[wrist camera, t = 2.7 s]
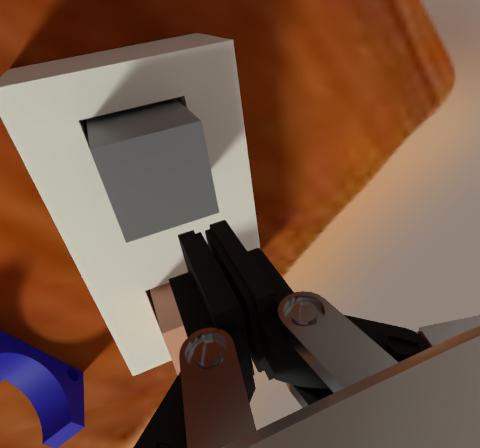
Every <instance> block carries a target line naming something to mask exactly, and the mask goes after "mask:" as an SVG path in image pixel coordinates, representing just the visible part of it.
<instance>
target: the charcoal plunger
mask: <svg viewBox="0 0 480 448" xmlns="http://www.w3.org/2000/svg"><path fill="white" fill-rule="evenodd" d="M86 122H87V131H88V140H89V149H90V152H91V154H92V157H93V159H94V162H95V164H96V167H97V170H98V172H99V175H100V177H101V180H102V182H103V185H104V187H105V190H106V193H107V195H108V198H109V200H110V203H111V205H112V208H113V211H114V213H115V216H116V218H117V221H118V223H119V226H120V228H121V231H122V234H123V236H124V239H125V241H126V243H127V242H130V241H134V240H137V239H140V238H143V237H146V236H149V235H152V234H155V233H158V232H161V231H164V230H167V229H170V228H173V227H177V226H180V225H183V224H186V223H189V222H192V221H195V220H198V219H201V218H204V217H207V216H210V215H213V214H217V213H219V208H218V203H217V198H216V193H215V188H214V183H213V178H212V173H211V168H210V162H209V157H208V152H207V147H206V142H205V137H204V132H203V127H202V122H201V120H200V119H199V118H198V117H196V116H195V115H194V114H193V113H192V112H191V111H190V110H188V109H187V108H186V107H185V106H184V105H183V104H182V103H180V102H179V101H178V100H177V99H176V98H173V99H168V100H164V101H160V102H156V103H151V104H147V105H143V106H139V107H134V108H130V109H126V110H122V111H117V112H113V113H109V114H105V115H100V116H96V117H92V118H88V119H86Z"/></svg>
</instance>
